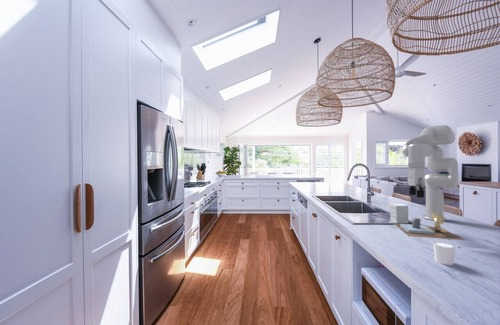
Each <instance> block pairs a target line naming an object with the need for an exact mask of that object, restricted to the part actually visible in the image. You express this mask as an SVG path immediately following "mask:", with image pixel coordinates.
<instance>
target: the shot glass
mask: <svg viewBox="0 0 500 325" xmlns="http://www.w3.org/2000/svg"><path fill="white" fill-rule="evenodd" d="M432 245H433V246H432V247H433V253H434V254H433V256H434V260H435V262H437V263H438V264H441V265H445V266H453V265H454V261H455V256H456V255H455V254H456V248H457V247H456V246H455V245H453V244H450V243H447V242H443V241H442V242H441V241H434V242H433V243H432Z"/></svg>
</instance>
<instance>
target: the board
mask: <svg viewBox="0 0 500 325" xmlns="http://www.w3.org/2000/svg"><path fill="white" fill-rule="evenodd" d="M400 224H401V223H394V226H396V227H397V228H398V229H400V230H401V231H402V232H403V233H404V234H406V235H407V236H408V237H417V238H429V239H441V240H452V241H453V240H454V241H455V240H456V241H465V239H463V238H461V237H459V236H458V235H456V234H454V233H452V232H450V231H449V230H446V229H445V228H443V229H444V230H446V233H445V232H441V231H440V232H437V231H435V226H431V225H430V226H429V225H428V226H427V225H425V226H426V227H427V228H429V229H431V230H432V231H434V232H435V235H434V234H420V233H408V232H407V231H406V230H404V229H403V228H402V227H401V226H400Z"/></svg>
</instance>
